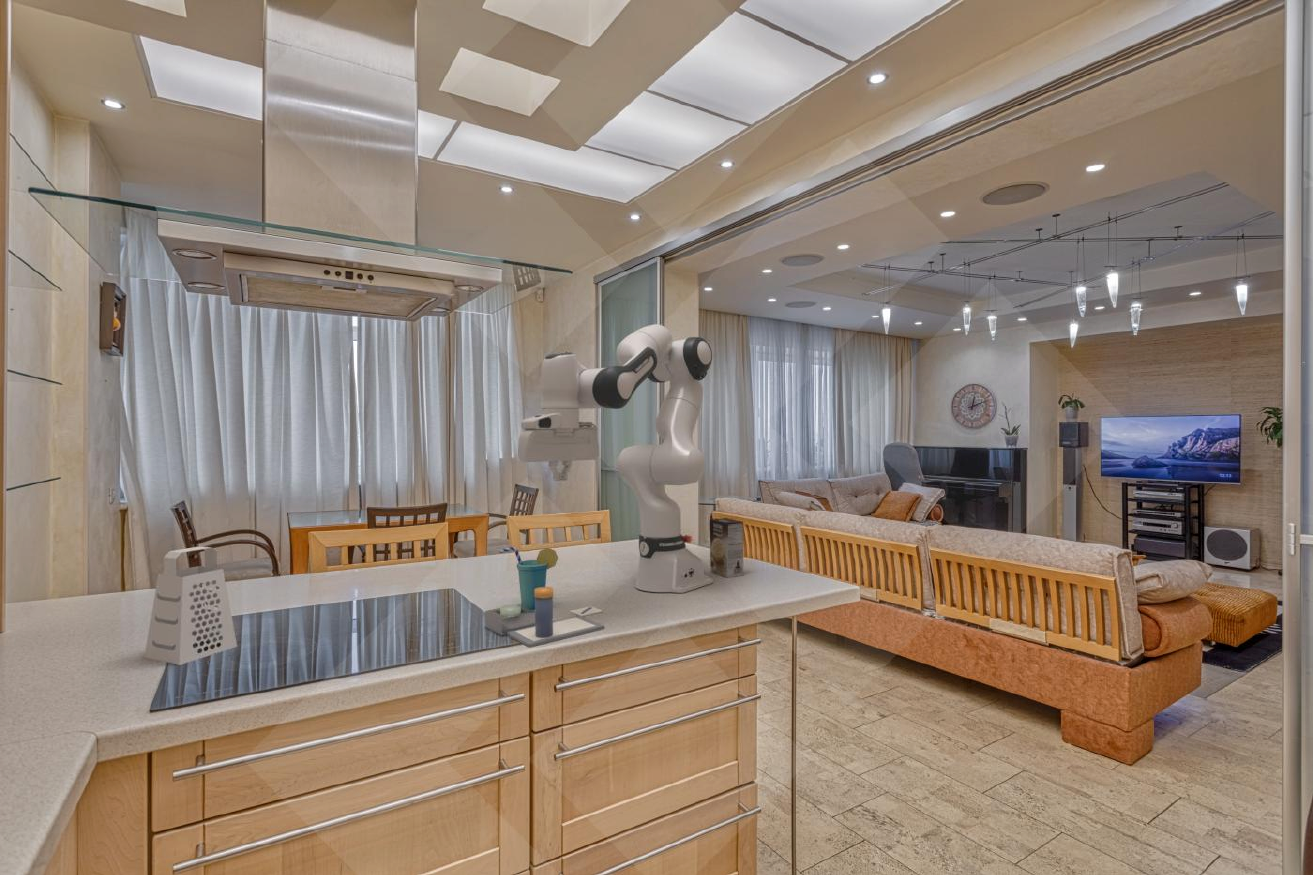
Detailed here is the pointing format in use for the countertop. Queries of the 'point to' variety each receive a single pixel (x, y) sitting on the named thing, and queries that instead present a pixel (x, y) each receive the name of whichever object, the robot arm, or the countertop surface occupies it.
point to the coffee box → (726, 547)
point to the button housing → (509, 620)
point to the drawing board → (556, 631)
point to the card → (586, 611)
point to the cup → (533, 573)
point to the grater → (189, 611)
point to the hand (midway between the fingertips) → (560, 480)
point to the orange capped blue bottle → (543, 612)
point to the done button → (510, 610)
